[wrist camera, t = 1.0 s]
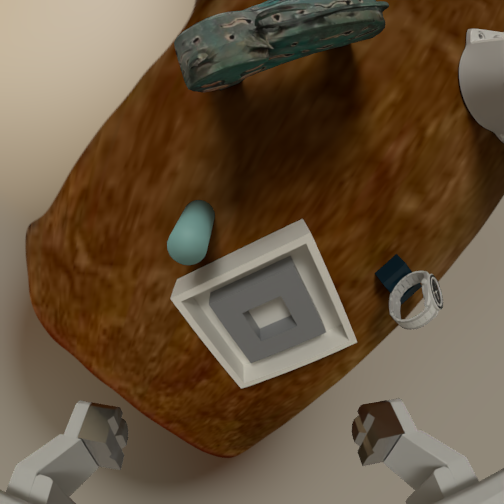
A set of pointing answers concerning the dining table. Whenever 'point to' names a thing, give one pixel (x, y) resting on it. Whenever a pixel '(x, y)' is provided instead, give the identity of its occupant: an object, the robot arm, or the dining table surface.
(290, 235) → the open box
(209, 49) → the ceramic cat
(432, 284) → the watch
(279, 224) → the dining table surface
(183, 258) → the peg
